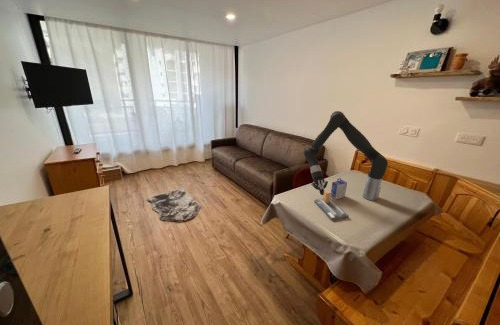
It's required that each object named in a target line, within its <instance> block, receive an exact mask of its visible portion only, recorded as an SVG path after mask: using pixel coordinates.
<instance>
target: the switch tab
mask: <svg viewBox="0 0 500 325" xmlns="http://www.w3.org/2000/svg"><path fill="white" fill-rule="evenodd" d="M322 197H323V198H322V199H323V201H324V202H325V203H329V200H330V199H331V191H329V190H324V195H322Z"/></svg>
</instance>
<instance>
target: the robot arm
mask: <svg viewBox="0 0 500 325" xmlns="http://www.w3.org/2000/svg"><path fill="white" fill-rule="evenodd" d="M338 128H339V129H340V130H341V131H342V132H343V134H344V135H345V137H346V139H347V140H348V142H349V143H350V144H351V145H352V146H353V147H354V148H355V149H356V150H358V151H359V152H360V153H362V154H363V155H364V156H365V157H366V158H367V160H368V161H369V163H370V165H371V167H370V170H369V171H368V172H367V177H366V180H365V183H364V188H363V189H364V190H363V192H362V193H363V194H362V197H363V198H364V199H365V200H367V201H376V200H378V199H379V196H380V192H381V185H382V181H383V177H384V176H385V174H386V172H387V168H388V164H389V162H388V159H387V158H386V157H385V155H383V154H381V153H380V152H379V151H378V150H376V148H374V146H373V145H372V144H371V143H370V141H369V139H367V137H366V136H365V135H364V134H363V133H362V132H361V131H360V130H359V129H357V127H356V126H354V125H353V124H352V123H351V122H350V121H349V120H348V118H347V117H346V115H345V114H344V112H342V111H339V110H336V111H333V112H332V113H331V114H330V118H329V121H328V122H327V124H326V126H325V127H324V129H323V130H322V131H321V132H320V133H319V134H318V135H317V137H316V138H315V139H314V140H313V141H312V144H311V145H312V147H306V148H305V149H304V151H303V155H304V157H305V159H306V161H307V163H308V165H309V166H308V167H309V168H310V174H311V177H312V180H313V181H312V183H311V184H310V185H311V186H312V187H313V188H314V189H315V190H318V191H319V194H320V195H321V196H323V195H324V191H325V189H326V188H327V186H328V183H329V181H327V180H325V179H324V176H323V171H322V168H321V166H320V162H319V160H318V158H316V157H317V156H318V154H319V152H320V151H321V148H322V147H323V145H324V144H325V143H326V142H327V141H328V139H329V138H330V136H331V135H332V134H333V133H334V132H335V131H336V130H337V129H338Z"/></svg>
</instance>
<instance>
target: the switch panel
mask: <svg viewBox="0 0 500 325" xmlns="http://www.w3.org/2000/svg"><path fill="white" fill-rule="evenodd" d="M314 204H315V205H316V206H317V207H318V208H319V209H320V210H321V211H322V213H324V215H326V217H327V218H328V219H329V220H330V221H336V220H337V221H338V220H344V219H348V218H349V215H348V213H347V212H346V211H344V210H343V208H341V207H340V206H339V205H338V204H337V203H336V202H335V201H334V200H333V199H331V198H330V200H329V203H325V202H324V201H323V198H321V197H319V198H317V199H314Z"/></svg>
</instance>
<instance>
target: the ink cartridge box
mask: <svg viewBox="0 0 500 325" xmlns="http://www.w3.org/2000/svg"><path fill="white" fill-rule="evenodd" d="M347 187H348V181H345V180H343V179H342V177H341V178H340V177H339V178H337V179H336V181H332V183H331V190H330V193H331V194H330V198H332V200H333V199H334V200H338V199H342V198H345V197H346V192H347Z"/></svg>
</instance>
